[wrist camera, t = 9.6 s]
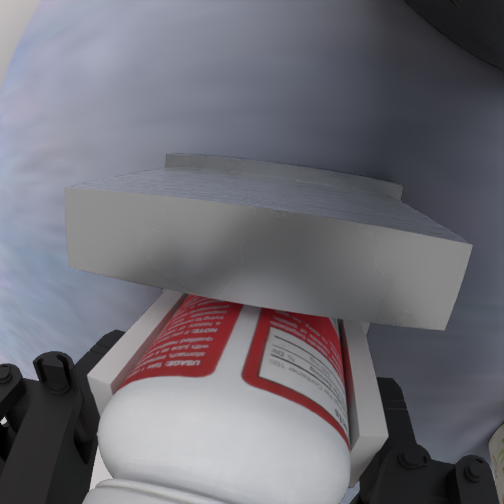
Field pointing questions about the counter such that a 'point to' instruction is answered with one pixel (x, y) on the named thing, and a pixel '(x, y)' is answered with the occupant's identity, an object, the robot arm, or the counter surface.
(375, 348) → the counter surface
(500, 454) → the mug
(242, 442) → the pill bottle
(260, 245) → the vise base
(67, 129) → the counter surface
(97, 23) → the counter surface
